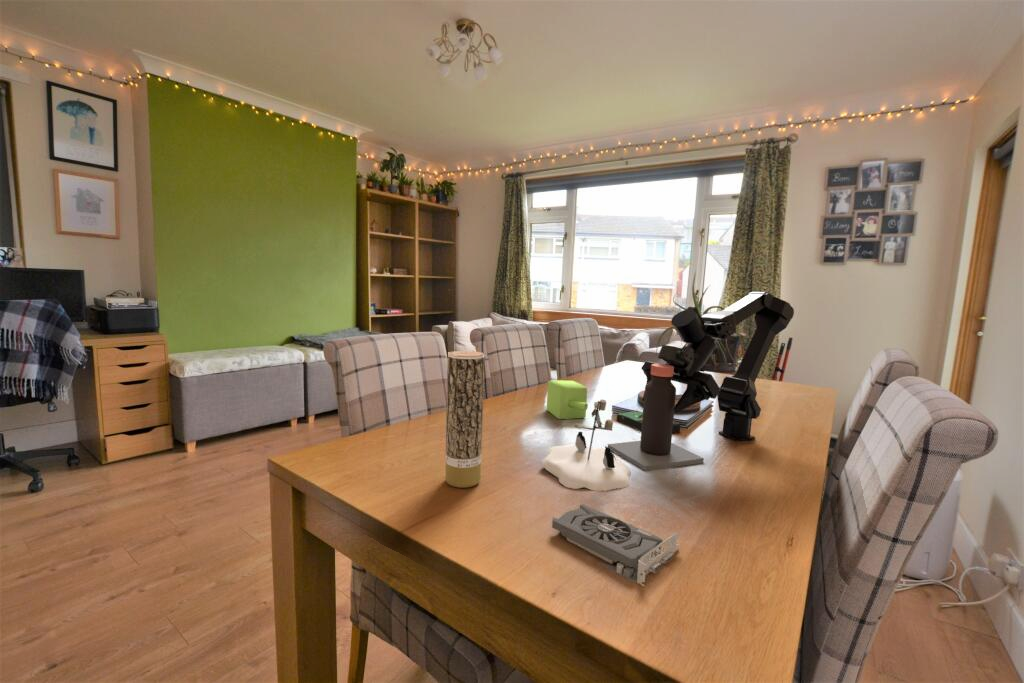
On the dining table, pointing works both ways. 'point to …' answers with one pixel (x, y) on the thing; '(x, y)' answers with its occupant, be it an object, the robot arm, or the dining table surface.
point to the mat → (654, 456)
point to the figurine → (588, 461)
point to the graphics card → (616, 542)
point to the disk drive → (639, 420)
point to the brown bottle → (658, 411)
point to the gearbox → (566, 399)
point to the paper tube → (464, 418)
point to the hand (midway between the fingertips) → (658, 406)
